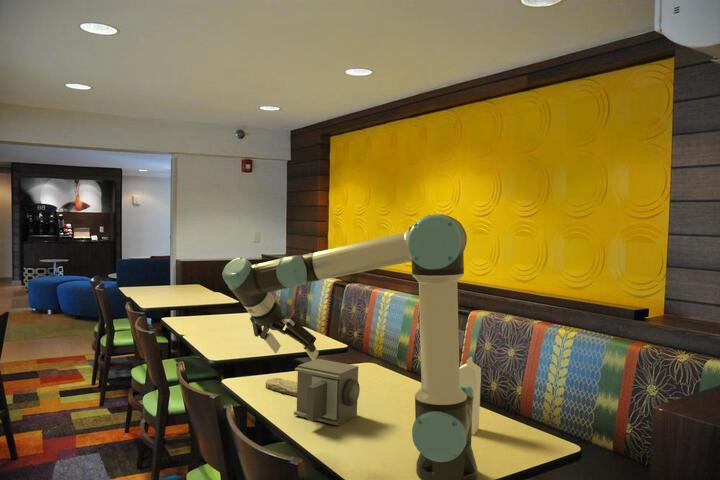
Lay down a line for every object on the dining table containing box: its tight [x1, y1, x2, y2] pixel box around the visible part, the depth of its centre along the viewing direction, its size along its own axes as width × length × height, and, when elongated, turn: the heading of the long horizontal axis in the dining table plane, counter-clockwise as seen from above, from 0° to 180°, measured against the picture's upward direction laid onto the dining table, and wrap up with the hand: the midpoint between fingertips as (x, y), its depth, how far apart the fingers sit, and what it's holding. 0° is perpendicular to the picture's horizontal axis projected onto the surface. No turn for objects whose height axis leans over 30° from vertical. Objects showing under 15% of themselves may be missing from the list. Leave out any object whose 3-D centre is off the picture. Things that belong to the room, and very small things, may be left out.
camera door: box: [306, 375, 338, 422], centre depth 167 cm, size 9×8×12 cm
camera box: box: [293, 358, 361, 427], centre depth 176 cm, size 18×12×16 cm
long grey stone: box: [265, 377, 297, 398], centre depth 198 cm, size 35×5×10 cm
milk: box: [459, 356, 482, 436], centre depth 168 cm, size 6×6×22 cm
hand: (296, 352), depth 157 cm, fingers open, 13 cm apart
